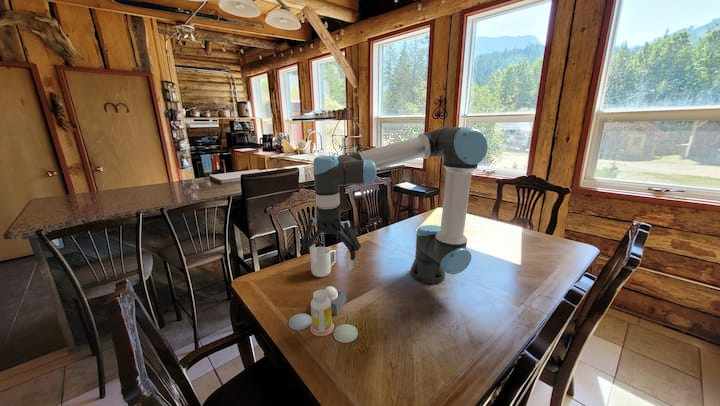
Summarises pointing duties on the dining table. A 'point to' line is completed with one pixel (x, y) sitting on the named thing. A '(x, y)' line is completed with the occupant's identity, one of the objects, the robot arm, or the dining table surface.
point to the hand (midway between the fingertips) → (331, 265)
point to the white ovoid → (332, 293)
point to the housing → (337, 301)
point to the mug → (323, 262)
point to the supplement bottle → (321, 311)
